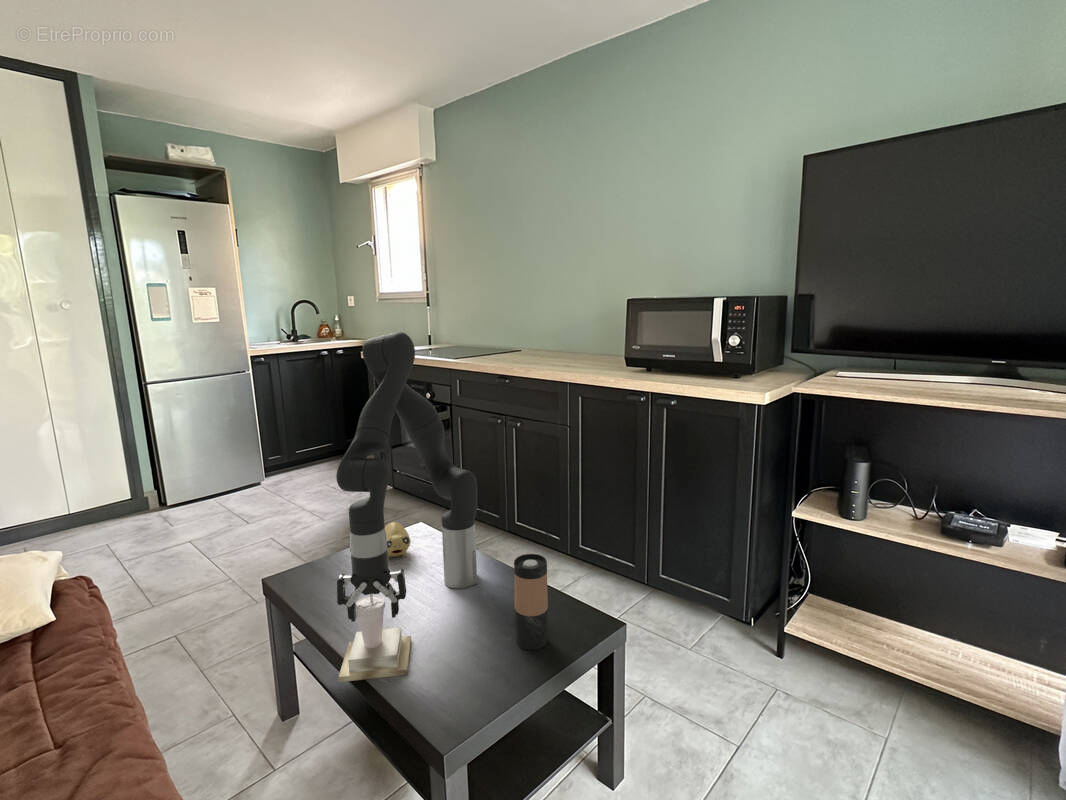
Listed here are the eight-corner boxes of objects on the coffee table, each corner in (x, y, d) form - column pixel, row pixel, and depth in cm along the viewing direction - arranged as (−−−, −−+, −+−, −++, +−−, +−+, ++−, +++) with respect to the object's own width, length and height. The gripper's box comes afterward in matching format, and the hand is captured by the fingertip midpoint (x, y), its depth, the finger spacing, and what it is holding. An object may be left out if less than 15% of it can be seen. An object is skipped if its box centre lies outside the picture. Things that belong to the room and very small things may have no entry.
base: (411, 640, 126) (410, 624, 125) (407, 674, 114) (406, 656, 113) (349, 646, 124) (348, 630, 123) (338, 682, 112) (337, 664, 111)
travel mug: (552, 634, 127) (551, 556, 124) (542, 654, 120) (541, 571, 117) (522, 628, 130) (520, 551, 126) (510, 647, 123) (508, 566, 119)
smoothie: (394, 638, 120) (390, 580, 117) (374, 655, 114) (369, 595, 111) (372, 631, 122) (367, 574, 120) (351, 647, 117) (346, 588, 114)
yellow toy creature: (382, 567, 161) (380, 534, 159) (377, 551, 172) (375, 520, 170) (415, 561, 165) (413, 529, 163) (408, 545, 176) (406, 515, 174)
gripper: (404, 538, 119) (408, 605, 122) (338, 543, 117) (343, 611, 120) (401, 553, 112) (405, 624, 114) (330, 559, 110) (336, 631, 112)
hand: (374, 617), depth 117 cm, fingers open, 8 cm apart
